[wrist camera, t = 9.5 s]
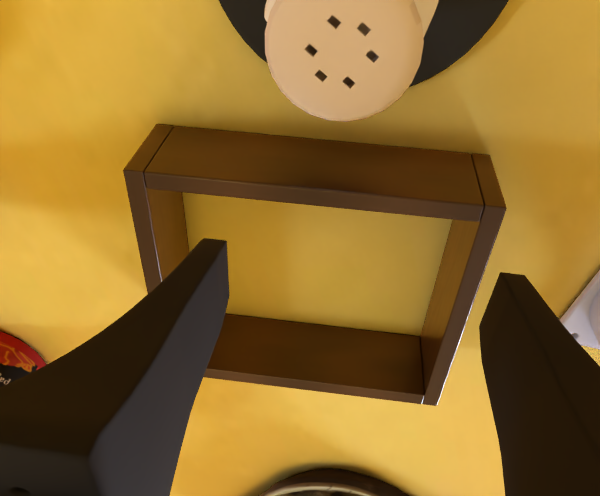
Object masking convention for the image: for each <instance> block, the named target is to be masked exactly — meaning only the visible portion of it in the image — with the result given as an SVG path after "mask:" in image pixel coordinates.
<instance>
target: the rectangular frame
mask: <svg viewBox="0 0 600 496" xmlns="http://www.w3.org/2000/svg"><path fill="white" fill-rule="evenodd" d="M123 171H124V176H125V181H126V186H127V191H128V196H129V202H130V207H131V212H132V217H133V222H134V227H135V232H136V237H137V242H138V247H139V252H140V257H141V262H142V267H143V272H144V277H145V282H146V287H147V292H148V294H149V293H150V292H151V291H152V290H153V289H154V288H155V287H157V286H158V285H159V284H160V283H161V282H162V281H163V280H164V279H165V278H166V277H167V276H168V275H169V274H170V273H171V272H172V271H173V270H174V269H175V268H176V267H177V266H178V265H179V264H180V263H181V262H182V261H183V259H184V258H185V257H186V256H187V255H188V254H189V248H188V240H187V232H186V224H185V215H184V207H183V199H182V192H187V193H197V194H207V195H217V196H227V197H236V198H246V199H256V200H266V201H276V202H286V203H296V204H306V205H316V206H326V207H336V208H345V209H355V210H365V211H375V212H385V213H395V214H405V215H415V216H425V217H435V218H445V219H453V221H452V225H451V229H450V232H449V236H448V239H447V243H446V247H445V250H444V254H443V257H442V261H441V265H440V268H439V272H438V275H437V279H436V283H435V286H434V290H433V293H432V297H431V301H430V304H429V308H428V311H427V315H426V319H425V322H424V326H423V329H422V333H421V336H420V337H419V336H411V335H402V334H394V333H385V332H376V331H368V330H359V329H350V328H342V327H333V326H324V325H316V324H307V323H298V322H290V321H281V320H273V319H264V318H255V317H247V316H238V315H229V314H225V316H224V320H223V324H222V328H221V331H220V334H219V336H218V339H217V342H216V344H215V347H214V350H213V352H212V355H211V358H210V360H209V363H208V366H207V368H206V371H205V373H204V376H203V377H207V378H215V379H223V380H231V381H239V382H247V383H255V384H263V385H272V386H280V387H288V388H296V389H304V390H312V391H320V392H328V393H336V394H344V395H352V396H360V397H368V398H376V399H384V400H393V401H401V402H409V403H417V404H426V405H434V406H437V404H438V402H439V399H440V396H441V393H442V390H443V387H444V385H445V382H446V379H447V376H448V373H449V370H450V368H451V365H452V362H453V359H454V356H455V353H456V351H457V348H458V345H459V342H460V339H461V336H462V334H463V331H464V328H465V325H466V322H467V319H468V316H469V314H470V311H471V308H472V305H473V302H474V299H475V297H476V294H477V291H478V288H479V285H480V282H481V280H482V277H483V274H484V271H485V268H486V265H487V263H488V260H489V257H490V254H491V251H492V248H493V246H494V243H495V240H496V237H497V234H498V231H499V228H500V226H501V223H502V220H503V217H504V214H505V211H506V209H507V208H506V204H505V201H504V198H503V195H502V192H501V189H500V186H499V183H498V179H497V176H496V173H495V170H494V167H493V164H492V161H491V158H490V155H484V154H474V153H473V154H469V153H460V152H449V151H438V150H428V149H417V148H406V147H395V146H384V145H374V144H363V143H352V142H341V141H330V140H320V139H309V138H298V137H287V136H277V135H266V134H255V133H244V132H233V131H223V130H212V129H201V128H190V127H179V126H175V127H174V126H172V125H162V124H156V126H155V127H154V128H153V130H152V131H151V133H150V134H149V135H148V137H147V138H146V139H145V141H144V142H143V144H142V145H141V146H140V148H139V149H138V150H137V152H136V153H135V155H134V156H133V157H132V159H131V160H130V161H129V163H128V164H127V166H126V167H125V168H124V170H123Z"/></svg>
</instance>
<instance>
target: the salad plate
mask: <svg viewBox="0 0 600 496" xmlns="http://www.w3.org/2000/svg"><path fill="white" fill-rule="evenodd" d="M258 496H409V495H407V494H406V493H404V492H402V491H401V490H399V489H398V488H396V487H394V486H392V485H389V484H387V483H385V482H383V481H381V480H378V479H376V478H373V477H370V476H367V475H363V474H359V473H355V472H351V471H346V470H341V469H319V470H312V471H308V472H304V473H301V474H298V475H295V476H293V477H290V478H287V479H284V480H282V481H279V482H277V483H275V484H274V485H272V486H271V487H270V489H269V490H267V491H265V492H264V493H262V494H260V495H258Z"/></svg>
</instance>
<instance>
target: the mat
mask: <svg viewBox="0 0 600 496" xmlns="http://www.w3.org/2000/svg"><path fill="white" fill-rule="evenodd" d="M219 1H220V3H221V6H222V8H223V9H224V11H225V13H226V15H227V16H228V18H229V20H230V21H231V23H232V25H233V26H234V28H235V29H236V30H237V32H238V33H239V34H240V36H241V37H242V38H243V40H244V41H245V42H246V43H247V44H248V45H249V46H250V47H251V48H252V49H253V51H254V52H255V53H256V54H257V55H258V56H259V57H261V58H262V59H263V60H264V61H265V62H267V59H266V55H265V30H266V25H267V21H266V20H265V18H264V13H265V5H266V1H267V0H219ZM507 2H508V0H439V1H438V5H437V7H436V10H435V13H434V15H433V17H432V20H431V22H430V24H429V27H428V29H427V31H426V33H425V36H424V38H423V40H424V45H423V51H422V56H421V62H420V66H419V68H418V70H417V72H416V74H415V77H414V79H413V81H412V83H411V84H410V86H413V85H415V84H418V83H420V82H422V81H424V80H427V79H429V78H431V77H433V76H434V75H436V74H438V73H439V72H441V71H443V70H444V69H446V68H448V67H449V66H450V65H452V64H453V63H454V62H455V61H457V60H458V59H459V58H461V57H462V56H463V55H465V54H466V53H467V52H468V51H469V50H470V49H471V48H472V47H473V46H474V45H475V44H476V43H477V42H478V41H479V40H480V39H481V38H482V37H483V35H484V34H485V33H486V32H487V31H488V29H489V28H490V27H491V26H492V25H493V23H494V22H495V21H496V19H497V18H498V16H499V14H500V13H501V11H502V10H503V8H504V7H505V5H506V4H507ZM267 63H268V62H267ZM410 86H409V87H410Z"/></svg>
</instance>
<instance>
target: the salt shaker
mask: <svg viewBox="0 0 600 496" xmlns="http://www.w3.org/2000/svg"><path fill="white" fill-rule="evenodd" d="M438 1H439V0H267V1H266V5H265V13H264V18H265V20H266V21H267V25H266V30H265V55H266V59H267V62H268V66H269V69H270V73H271V75H272V77H273V78H274V80H275V82H276V84H277V85H278V87H279V89H280V90H281V91H282V93H283V94H284V95H285V96H286V97H287V98H288V99H289V100H290V101H291V102H292V103H293V104H294V105H296V106H297V107H299V108H301V109H302V110H304V111H305V112H307V113H308V114H310V115H313V116H316V117H319V118H322V119H325V120H331V121H344V122H348V121H354V120H360V119H365V118H368V117H370V116H372V115H375V114H377V113H379V112H382V111H384V110H385V109H386V108H388V107H389V106H390V105H391V104H393V103H394V102H395V101H397V100H398V99H399V98H400V97H401V96H402V94H403V93H404V92H405V91H406V89H407V88H408V87H409V86H410V84H411V83H412V81H413V79H414V77H415V74H416V72H417V70H418V68H419V66H420V62H421V56H422V51H423V45H424V40H423V38H424V36H425V33H426V31H427V29H428V27H429V24H430V22H431V20H432V17H433V15H434V13H435V10H436V7H437V5H438Z"/></svg>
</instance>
